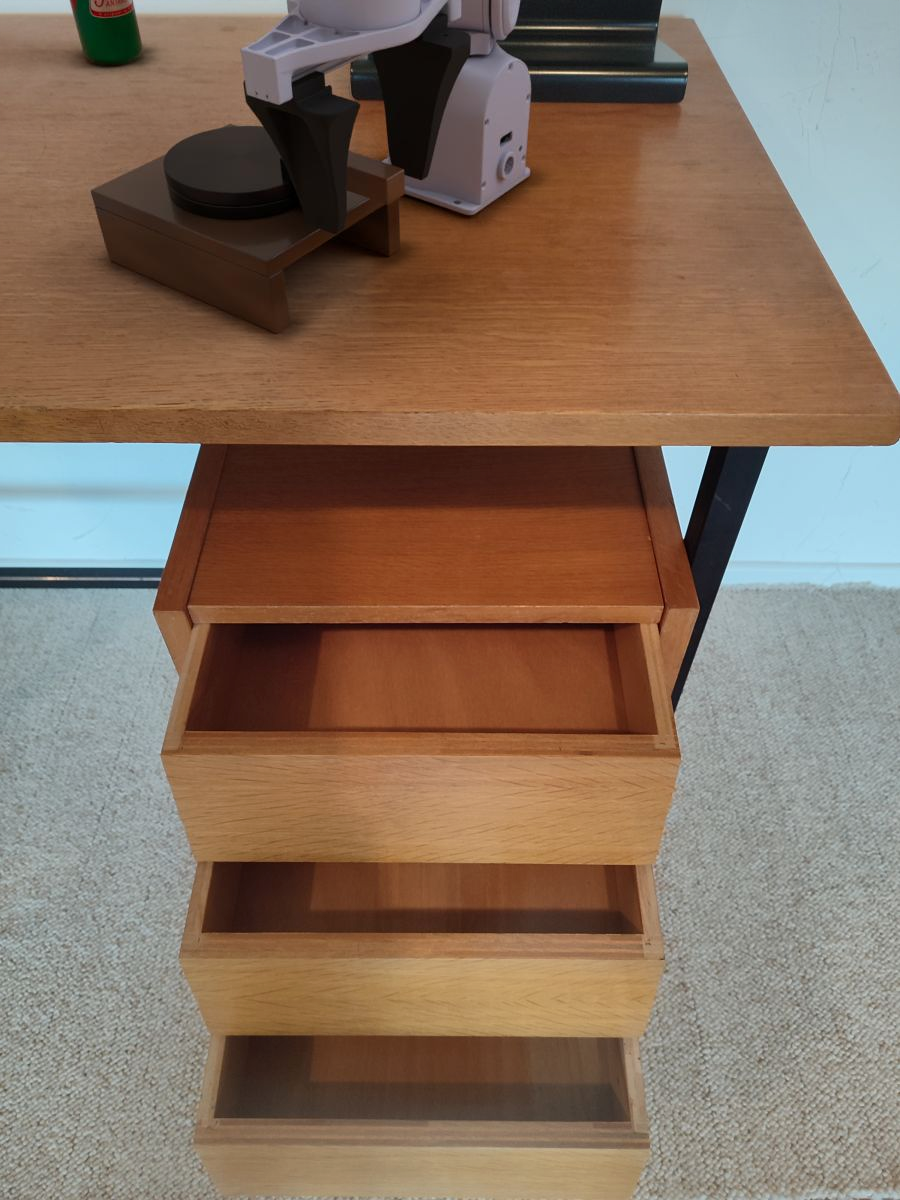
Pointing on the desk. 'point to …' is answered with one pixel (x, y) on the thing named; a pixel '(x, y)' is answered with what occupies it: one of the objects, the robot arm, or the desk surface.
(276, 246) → the brown stand
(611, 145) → the desk surface
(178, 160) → the pan
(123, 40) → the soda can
